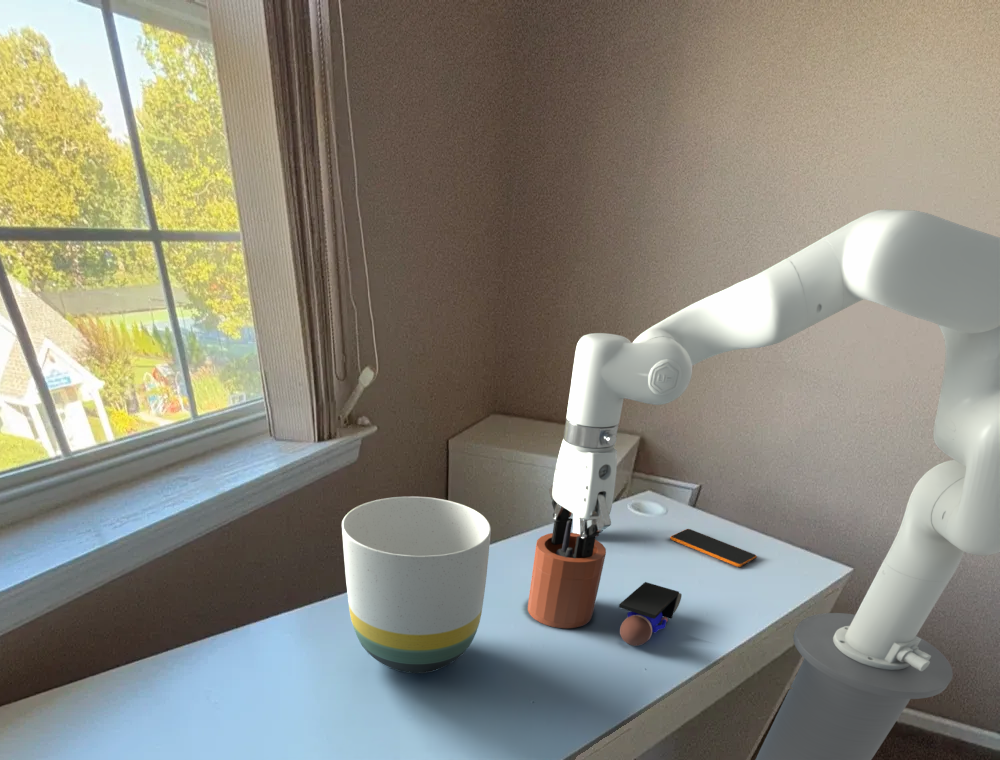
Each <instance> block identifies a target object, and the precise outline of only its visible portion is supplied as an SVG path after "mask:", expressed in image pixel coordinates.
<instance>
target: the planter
mask: <svg viewBox="0 0 1000 760" xmlns="http://www.w3.org/2000/svg"><path fill="white" fill-rule="evenodd" d="M491 532H492V528H491V524H490V522H489V521H488V519H487V518H486V517H485V516H484V515H483V514H482V513H480V512H479V511H477V510H476V509H474V508H471V507H469V506H467V505H465V504H462V503H459V502H455V501H452V500H447V499H443V498H436V497H428V496H394V497H385V498H381V499H380V498H379V499H376V500H371V501H368V502H365V503H362V504H360V505H357V506H356V507H354V508H352V509H351V510H350V511H348V512H347V514H345V516H344V517H343V519H342V521H341V535H342V536H341V537H342V549H343V561H344V574H345V583H346V593H347V601H348V611H349V615H350V620H351V623H352V627H353V630H354V632H355V635H356V637H357V639H358V641H359V643H360V645H361V646H362V647H363V649H364V650H365V651H366V652H367V653H368V655H370V656H371V657H372V658H373V659H374V660H376V661H377V662H378V663H380V664H382V665H383V666H386V667H387V668H389V669H392V670H396V671H398V672H402V673H406V674H407V673H408V674H426V673H431V672H435V671H438V670H441V669H443V668H445V667H447V666H450V665H451V664H452V663H454V662H456V661H457V660H458V659H459V658H460V657H462V656H463V655H464V654H465V652H467V650H468V649H469V647H470V646H471V644H472V642H473V641H474V638H475V636H476V634H477V631H478V629H479V625H480V622H481V618H482V613H483V605H484V599H485V591H486V584H487V576H488V575H487V574H488V568H489V567H488V565H489V556H490V547H491V546H490V545H491V535H492V533H491Z"/></svg>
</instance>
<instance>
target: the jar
mask: <svg viewBox="0 0 1000 760" xmlns="http://www.w3.org/2000/svg"><path fill="white" fill-rule="evenodd" d="M552 534H553V532H551V533H546V534H544V535H542V536H540V537H539V538H538V539H537V540H536V544H535V550H534V557H533V565H532V573H531V580H530V587H529V593H528V600H527V601H528V602H527V612H528V614H529V615H530V617H531V618H532V619H534V620H535V621H536V622H539V623H540V624H542V625H545V626H548V627H551V628H557V629H575V628H576V629H577V628H580V627H583V626H586V625H587V624H588V623H589V622H590V621H591V619H592V618H593V615H594V614H593V613H594V611H595V605H596V600H597V596H598V591H599V586H600V583H601V579H602V573H603V569H604V563H605V558H606V554H607V552H606V550H607V548H606V547H605V546H604V544H603V543H602V542H600V541H598V540H597V539H596V538H595V543H594V548H593V554H592V556H591V557H587V558H568V557H563V556H559V555H556V551H557V550H558V549H562V545H563V544H558V545H553V544H552V543H551V541H552ZM577 536H580V534H576V533H572V532H571V534H570V541H569V547H568V548H572V549H573V552H575V546H576V540H577Z"/></svg>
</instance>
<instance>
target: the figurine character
mask: <svg viewBox="0 0 1000 760" xmlns="http://www.w3.org/2000/svg"><path fill="white" fill-rule="evenodd" d="M681 601H682V593H681V592H680V591H678V590H674V589H671V588H669V587H668V588H667V587H664V586H661V585H657V584H654V583H652V582H651V583H650V582H647V581H645V582H643V583H642V584H641V585H640V586H639V587H637V588H636V589H635V590H634V591H632V593H630V594H629V595H628V596H627V597H626V598H625V599H623V600H622V601H621V602H620V603H619V604H618V609H622V610H625V611H628V612H627V613H626V615H627V617H626V618H625V619H624V620H623V621H622V622H621V624H620V628H619V635H620V637H621V639H622V641H623V642H624V643H626V644H627V645H630V646H633V647H636V646H637V647H638V646H642V645H644V644H646V643H647V642H648V641H649V640H650V639H651V637H652V635H653V633H658V631H659V630H663V629H665V628H666V625H667V622H668V621H669V619H670V620H672V619H673V617H674V614H675V612H677V610H678V608H679V606H680V603H681Z"/></svg>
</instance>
